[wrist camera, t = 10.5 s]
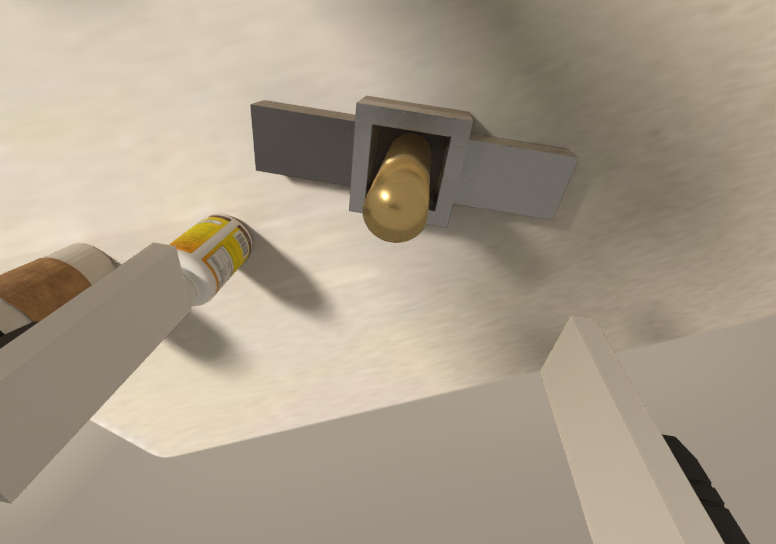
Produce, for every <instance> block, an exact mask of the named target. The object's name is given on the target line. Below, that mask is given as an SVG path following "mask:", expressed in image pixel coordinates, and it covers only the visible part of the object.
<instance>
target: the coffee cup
mask: <svg viewBox="0 0 776 544" xmlns="http://www.w3.org/2000/svg"><path fill="white" fill-rule="evenodd" d="M115 269H116V267H115V265H114V263H113V262H112V261H111V260H110V259H109V257H108V256H106V255H105V254H104V253H103V252H101V251H100V250H98V249H96V248H94V247H92V246H90V245H86V244H73V245H70V246H68V247H65V248H63V249H61V250H59V251H57V252H54V253H52V254H50V255H48V256H45V257H43V258H40V259H37V260H35V261H32V262H30V263H28V264H25V265H23V266H20V267H18V268H16V269H13V270H11V271H8V272H6V273H4V274H1V275H0V338H1V337H2V336H3V335H5V334H6V333H9V332H11V331H13V330H15V329H18V328H20V327H22V326H24V325H27V324H29V323H31V322H34V321H37V322H40V321H41V320H43V319H44V318H46V317H47V316H48V315H50V314H51V313H53V312H54V311H56V310H57V309H59V308H60V307H61V306H63V305H64V304H66V303H67V302H69V301H70V300H72V299H73V298H74V297H76V296H77V295H79V294H80V293H82V292H83V291H84V290H86V289H87V288H89V287H90V286H92V285H93V284H95V283H96V282H97V281H99V280H100V279H102V278H103V277H105V276H106V275H108V274H109V273H110V272H112V271H113V270H115Z"/></svg>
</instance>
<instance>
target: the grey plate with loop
mask: <svg viewBox="0 0 776 544" xmlns="http://www.w3.org/2000/svg"><path fill="white" fill-rule="evenodd" d="M250 105H251V117H252V129H253V141H254V152H255V164H256V171H262V172H268V173H274V174H280V175H286V176H292V177H298V178H304V179H310V180H316V181H322V182H328V183H334V184H340V185H346V186H351V189H350V203H349V211H352V212H358V213H363V204H364V201H365V198H366V196H367V194H368V192H369V190H370V188H371V186H372V184H373V177H374V167H375V158H376V148H377V139H378V130H379V125H381V126H387V127H393V128H399V129H405V130H411V131H418V132H424V133H430V134H436V135H442V136H448V137H447V142H446V147H445V151H444V156H443V161H442V165H441V170H440V175H439V179H438V184H437V189H436V193H430V192H429V205H428V218H427V222H426V224H428V225H434V226H440V227H446V228H447V226H448V222H449V218H450V214H451V210H452V206H453V204H459V205H465V206H471V207H477V208H483V209H489V210H495V211H501V212H507V213H513V214H518V215H524V216H530V217H536V218H542V219H548V220H552V219H553V217H554V215H555V212H556V210H557V208H558V205H559V203H560V201H561V198H562V196H563V194H564V191H565V189H566V187H567V184H568V182H569V180H570V177H571V175H572V173H573V170H574V168H575V166H576V163H577V161H578V159H579V157H577V156H576V155H575V154H574V153H572V152H571V151H570V150H568V149H563V148H557V147H551V146H545V145H539V144H533V143H526V142H520V141H514V140H508V139H502V138H495V137H489V136H483V135H477V134H471V129H472V125H473V120H472V117H471V115H470V113H469V112H465V111H459V110H453V109H447V108H440V107H434V106H428V105H422V104H415V103H409V102H403V101H397V100H390V99H384V98H378V97H372V96H365V97H364V98H363V99H361V100H360V101H358V102H357V104H356V115H353V114H347V113H341V112H334V111H328V110H322V109H316V108H310V107H303V106H297V105H291V104H285V103H279V102H272V101H266V100H263V101H260V102H257V103H254V104H250Z"/></svg>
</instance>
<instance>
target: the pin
mask: <svg viewBox="0 0 776 544" xmlns="http://www.w3.org/2000/svg"><path fill="white" fill-rule="evenodd" d="M430 170H431V149H430V147H429V145H428V143H427V142H426V140H425V139H424V138H422V137H421V136H419V135H416V134H411V133H409V134H403V135H401V136H399V137H398V138H396V139H395V140H394V141H393V142H392V144H391V146H390V148H389V150H388V152H387V154H386V156H385V159H384V161H383V163H382V165H381V167H380V169H379V171H378V173H377V175H376V177H375V180H374V182H373V184H372V186H371V188H370V190H369V192H368V194H367V196H366V198H365V201H364V204H363V218H364V221H365V224H366V225H367V227H368V229H369V230H370V231H371V232H372V233H373V234H374V235H375V236H377V237H378V238H380V239H382V240H384V241H388V242H393V243H400V242H405V241H409V240H411V239H413V238H415V237H416V236H417V235H418V234H419V233H420V232H421V231H422V230H423V228H424V227H425V225H426V222H427V218H428V205H429V188H430Z"/></svg>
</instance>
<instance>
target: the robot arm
mask: <svg viewBox="0 0 776 544" xmlns="http://www.w3.org/2000/svg"><path fill="white" fill-rule="evenodd" d="M190 311H191V306H190V302H189V297H188V293H187V289H186V285H185V281H184V277H183V273H182V269H181V265H180V261H179V257H178V253H177V249H176V246H171V245H165V244H159V243H152V244H151V245H149V246H148V247H146V248H145V249H144V250H142V251H141V252H139V253H138V254H136V255H135V256H133V257H132V258H131V259H129V260H128V261H126V262H125V263H123V264H122V265H120V266H119V267H118V268H116V269H115V270H113V271H112V272H110V273H109V274H108V275H106V276H105V277H103V278H102V279H100V280H99V281H97V282H96V283H95V284H93V285H92V286H90V287H89V288H87V289H86V290H84V291H83V292H82V293H80V294H79V295H77V296H76V297H74V298H73V299H72V300H70V301H69V302H67V303H66V304H64V305H63V306H61V307H60V308H59V309H57V310H56V311H54V312H53V313H51V314H50V315H48V316H47V317H46V318H44V319H43V320H41V321H40V322H37V321H34V322H31V323H29V324H27V325H24V326H22V327H20V328H18V329H15V330H13V331H11V332H9V333H6V334H5V335H3V336H2V337H1V338H0V501H2V502H7V503H12V502H13V501H14V500H15V499H16V498H17V497H18V496H19V495H20V493H21V492H22V491H23V490H24V489H25V488H26V487H27V486H28V485H29V484H30V483H31V482H32V480H34V478H35V477H36V476H37V475H38V474H39V473H40V472H41V471H42V470H43V469H44V467H46V466H47V464H48V463H49V462H50V461H51V460H52V459H53V458H54V457H55V456H56V455H57V454H58V453H59V452H60V450H61V449H62V448H63V447H64V446H65V445H66V444H67V443H68V442H69V441H70V439H72V438H73V437H74V435H75V434H76V433H77V432H78V431H79V430H80V429H81V428H82V427H83V426H84V425H85V424H86V422H87V421H88V420H89V419H90V418H91V417H92V416H93V415H94V414H95V413H96V412H97V411H98V410H99V409H100V408H101V406H102V405H103V404H104V403H105V402H106V401H107V400H108V399H109V398H110V397H111V396H112V395H113V394H114V392H115V391H116V390H117V389H118V388H119V387H120V386H121V385H122V384H123V383H124V382H125V381H126V380H127V378H128V377H129V376H130V375H131V374H132V373H133V372H134V371H135V370H136V369H137V368H138V367H139V366H140V364H141V363H142V362H143V361H144V360H145V359H146V358H147V357H148V356H149V355H150V354H151V353H152V352H153V351H154V349H155V348H156V347H157V346H158V345H159V344H160V343H161V342H162V341H163V340H164V339H165V338H166V337H167V335H168V334H169V333H170V332H171V331H172V330H173V329H174V328H175V327H176V326H177V325H178V324H179V323H180V321H181V320H182V319H183V318H184V317H185V316H186V315H187V314H188V313H189V312H190ZM540 375H541V378H542V382H543V385H544V388H545V391H546V394H547V398H548V400H549V404H550V407H551V410H552V413H553V417H554V419H555V423H556V426H557V429H558V433H559V436H560V439H561V442H562V445H563V448H564V452H565V455H566V458H567V461H568V464H569V468H570V470H571V474H572V477H573V480H574V483H575V487H576V490H577V492H578V496H579V499H580V502H581V505H582V509H583V512H584V515H585V518H586V522H587V525H588V528H589V531H590V534H591V538H592V541H593V544H750V543H749V542H748V540H747V539H746V537H745V535H744V534H743V532H742V530H741V529H740V527H739V526H738V524H737V522H736V521H735V519H734V518H733V516H732V515H731V513H730V511H729V510H728V509H726V508H725V507H724V502H723V500H722V499H721V497H720V495H719V494H718V492H717V491H716V489H715V488H713V487H712V486H711V481H710V480H709V478H708V476H707V475H706V473H705V472H704V470H703V468H702V467H701V466H700V464H699V462H698V460H697V459H696V458H695V457H694V456H693V455H692V454H691V453H690V452H689V451H688V450H687V448H686V447H685V446H684V445H682V443H681V442H680V441H679V440H678V439H677V438H676V437H673V436H668V435H663V434H661V433H660V431H659V429H658V428H657V426H656V424H655V422H654V421H653V419H652V417H651V415H650V414H649V412H648V410H647V408H646V407H645V405H644V403H643V402H642V400H641V398H640V397H639V395H638V393H637V391H636V389H635V388H634V386H633V385H632V383H631V381H630V379H629V377H628V376H627V374H626V372H625V370H624V369H623V367H622V365H621V364H620V362H619V360H618V358H617V357H616V355H615V353H614V351H613V350H612V348H611V346H610V344H609V343H608V341H607V339H606V338H605V336H604V334H603V332H602V331H601V329H600V327H599V325H598V324H597V322H596V320H595V319H590V318H585V317H579V316H573V315H571V316H570V318H569V320H568V322H567V323H566V325H565V327H564V329H563V331H562V332H561V334H560V336H559V338H558V340H557V341H556V343H555V345H554V347H553V349H552V350H551V352H550V354H549V356H548V358H547V359H546V361H545V363H544V365H543V367H542V368H541V370H540Z"/></svg>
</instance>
